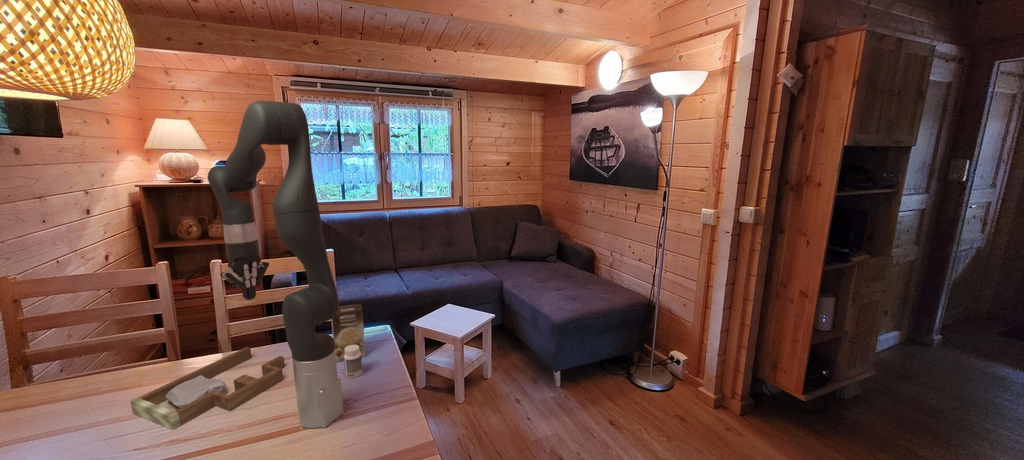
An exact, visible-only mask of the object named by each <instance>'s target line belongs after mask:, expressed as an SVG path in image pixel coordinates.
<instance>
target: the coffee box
mask: <svg viewBox="0 0 1024 460" xmlns="http://www.w3.org/2000/svg"><path fill="white" fill-rule="evenodd" d="M331 323H332V337H333V339H334V342H335V354H336V363H338V362H344V355H345V348H346V347H347V346H349V345H358V346H359V350H360V352H361V357H362V358H365V357H366V341H365V326H364V325H365V324H364V311H363V305H362V303H355V304H346V305H339V309H338V312H337V314H336V316H335V317H333V318H332V319H331Z"/></svg>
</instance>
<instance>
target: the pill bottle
mask: <svg viewBox="0 0 1024 460" xmlns="http://www.w3.org/2000/svg"><path fill="white" fill-rule="evenodd" d="M362 359H363V357H361V352H360V350H359V346H358V345H349V346H347V347H346V348H345V355H344V361H343V362H344V373H345V377H346V378H349V379H352V378H356V377H359V376H361V375H362V374H363V360H362Z"/></svg>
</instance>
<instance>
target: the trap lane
mask: <svg viewBox="0 0 1024 460" xmlns="http://www.w3.org/2000/svg"><path fill="white" fill-rule="evenodd" d="M250 359H252V351H251V347H248V346H246V347H243V348H242V349H239V350H238V351H236V352H233V353H231V354H229V355H227V356H224V357H222V358H220V359H217V360H216V361H213V362H211V363H209V364H207V365H205V366H203V367H200V368H199V369H197V370H193V371H192V372H190V373H188V374H186V375H183V376H181V377H179V378H177V379H174V380H172V381H170V382H169V383H168V382H167V383H166V384H165V385H161V386H160V387H158V388H155V389H154V390H151V391H149V392H147V393H145V394H143V395H140V396H138V397H136V398H133V399H132V400H130V406H131V411H132V414H133V415H136V416H138V417H141V418H143V419H145V420H147V421H150V422H152V423H155V424H157V425H160V426H162V427H165V428H168V429H170V430H171V431H174V430H176V429H177V428H180V427H181V426H183V425H185V424H187V423H188V422H191V421H192V420H193V419H195V418H197V417H199V416H201V415H203V414H204V413H206V412H208V411H210V410H211V409H213V408H215V407H217V408H220V409H223V410H226V411H229V412H232V411H233V410H236V409H237V408H238V407H240V406H242V405H244V404H245V403H247V402H248V401H250V400H252V399H253V398H256V397H257V396H258V395H261V393H263V392H265V391H267V390H269V389H270V388H272V387H274V386H276V385H277V384H279V383H280V382H282V381H284V373H283V369H284V368H285V367H286V365H285V357H284V356H283V355H279V356H276V357H275V358H273V359H271V360H269V361H267V362H265V363H263V364H262V365H261V371H262V372H261V373H262V376H261V377H259V378H258V377H254V376H251V375H248V374H242V375H241V376H238V377H237V378H235V379H233V384H234V385H233V387H234V392H232V393H230V394H227V393H226V394H223V393H220V392H217V391H212V392H210V393H208V394H206V395H204V396H203V397H201V398H199V399H197V400H195V401H193V402H191V403H189V404H187V405H185V406H184V407H182V408H178V409H176V410H171V409H168V408H166V407H163V406H162V405H160V404H162V403H163V402H165V401H168V400H167V399H166V395H167V394H168V392H169V391H171V390H172V389H173V388H174V387H176V386H178V385H179V384H181V383H183V382H186V381H188V380H191V379H194V378H196V377H198V376H200V375H201V376H203V377H205V378H208V379H213V378H215V377H216V376H218V375H221V374H222V373H225V372H227V371H228V370H230V369H232V368H234V367H236V366H238V365H240V364H242V363H245V362H247V361H249V360H250Z"/></svg>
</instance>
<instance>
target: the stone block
mask: <svg viewBox="0 0 1024 460" xmlns="http://www.w3.org/2000/svg"><path fill="white" fill-rule="evenodd" d="M226 385H227V384H226V383H225V381H224V380H222V379H221V378H215V377H212V378H210V379H208V378H205V377H203V376H201V375H200V376H198V377H196V378H194V379H191V380H188V381H186V382H183V383H181V384H179V385H178V386H176V387H174V388H173V389H172V390H171V391H169V392H168V394H167V395H166V399H167V400H166V401H169V402H170V403H171V404H173V405H174V406H175V407H177V408H178V409H180V408H182V407H184V406H185V405H187V404H189V403H191V402H193V401H195V400H197V399H199V398H201V397H203V396H204V395H206V394H208V393H210V392H212V391H217V392H220V393H223V394H226V395H227V393H228V390H227V386H226Z"/></svg>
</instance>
